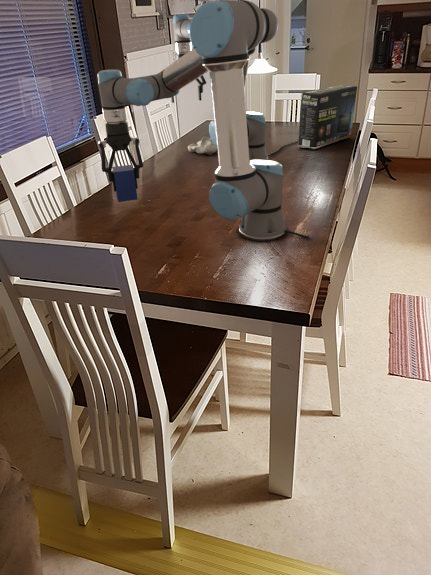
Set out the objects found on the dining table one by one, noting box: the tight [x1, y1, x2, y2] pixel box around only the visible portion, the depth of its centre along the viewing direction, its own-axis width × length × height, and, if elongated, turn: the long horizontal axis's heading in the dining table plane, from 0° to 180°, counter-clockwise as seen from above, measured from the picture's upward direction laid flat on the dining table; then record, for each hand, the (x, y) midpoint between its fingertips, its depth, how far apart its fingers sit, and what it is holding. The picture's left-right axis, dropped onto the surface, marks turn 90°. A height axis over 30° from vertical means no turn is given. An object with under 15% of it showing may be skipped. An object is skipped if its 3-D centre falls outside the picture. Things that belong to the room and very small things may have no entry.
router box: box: [297, 84, 358, 151], centre depth 238 cm, size 36×11×27 cm, turn 134°
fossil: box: [187, 135, 218, 156], centre depth 238 cm, size 18×11×15 cm
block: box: [112, 164, 139, 203], centre depth 162 cm, size 7×7×11 cm
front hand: (125, 188), depth 163 cm, fingers closed on block, 7 cm apart
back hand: (186, 101), depth 225 cm, fingers open, 13 cm apart
